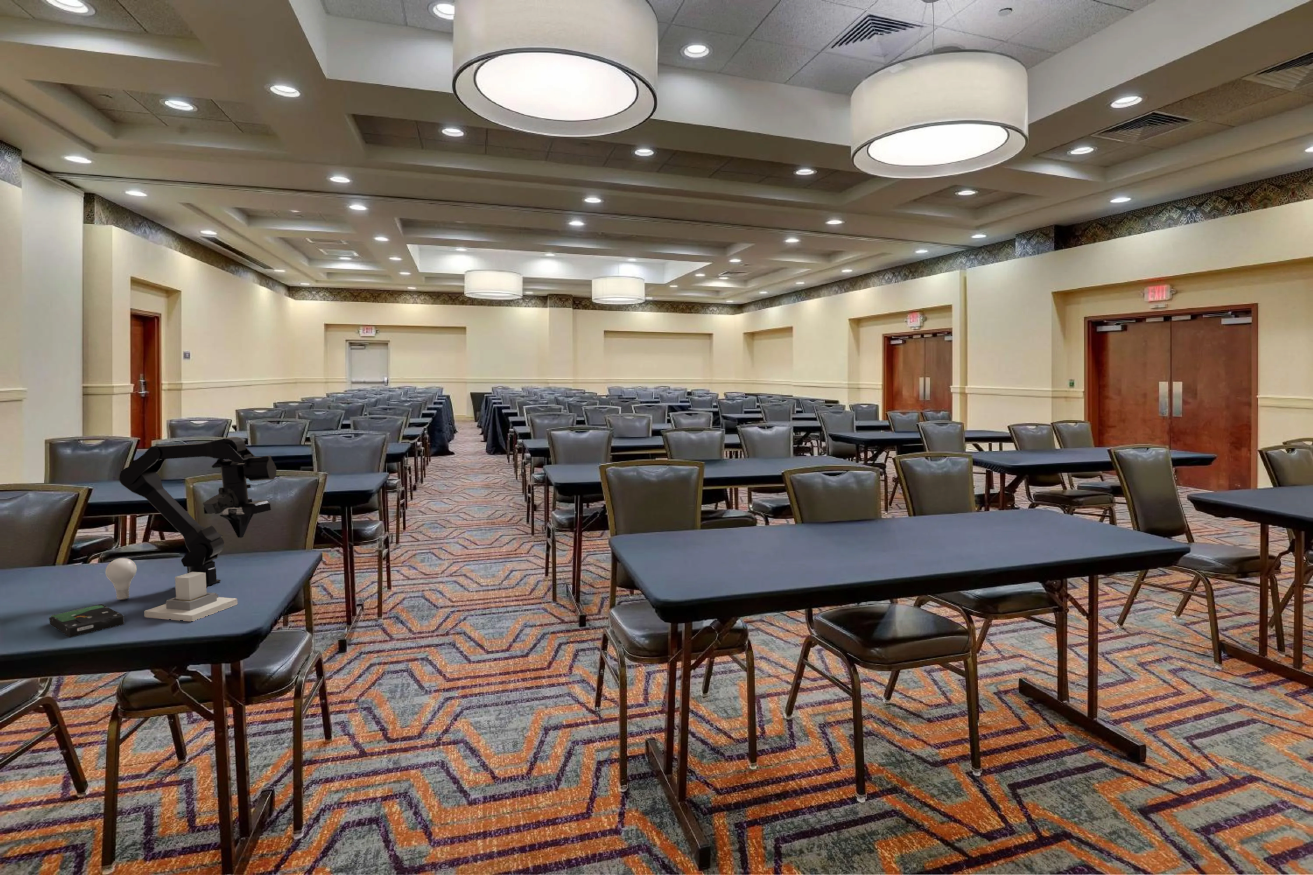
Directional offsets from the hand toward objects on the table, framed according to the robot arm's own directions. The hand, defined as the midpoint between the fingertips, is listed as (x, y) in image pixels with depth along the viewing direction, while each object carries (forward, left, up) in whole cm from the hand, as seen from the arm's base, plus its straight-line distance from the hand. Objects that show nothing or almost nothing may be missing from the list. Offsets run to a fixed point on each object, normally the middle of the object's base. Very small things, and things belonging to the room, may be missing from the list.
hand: (240, 537), depth 192 cm
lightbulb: (-18, -20, -13) cm, 30 cm away
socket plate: (+7, -23, -13) cm, 27 cm away
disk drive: (-9, -36, -14) cm, 39 cm away
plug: (+7, -23, -12) cm, 26 cm away
